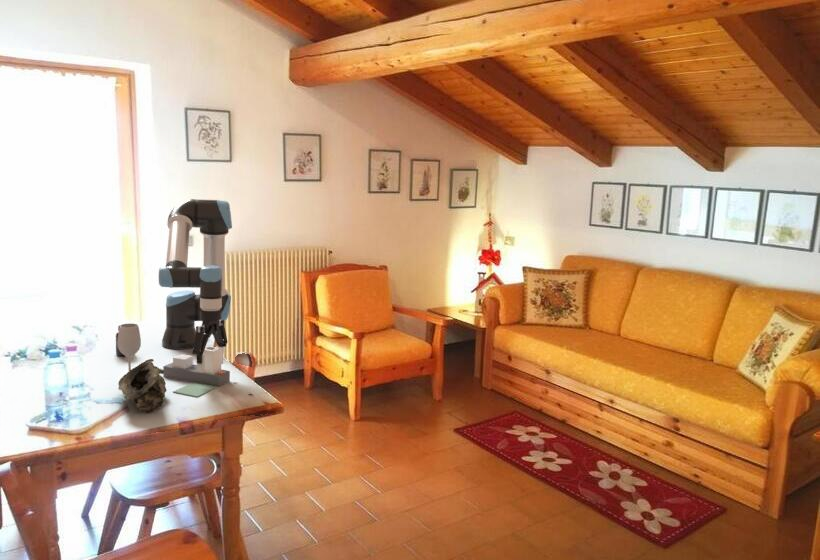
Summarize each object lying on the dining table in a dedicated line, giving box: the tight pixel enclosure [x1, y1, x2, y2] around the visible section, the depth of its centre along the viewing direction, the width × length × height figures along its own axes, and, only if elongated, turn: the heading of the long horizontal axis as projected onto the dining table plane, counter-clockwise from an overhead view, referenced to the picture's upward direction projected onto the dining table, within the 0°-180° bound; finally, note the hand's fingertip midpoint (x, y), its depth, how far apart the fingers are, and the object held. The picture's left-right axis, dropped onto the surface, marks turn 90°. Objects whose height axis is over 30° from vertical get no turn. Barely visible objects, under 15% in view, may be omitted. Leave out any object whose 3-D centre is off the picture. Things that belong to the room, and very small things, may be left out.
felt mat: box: [172, 382, 218, 398], centre depth 227 cm, size 11×10×1 cm
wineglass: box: [117, 322, 142, 372], centre depth 229 cm, size 8×8×21 cm
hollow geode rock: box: [117, 358, 167, 414], centre depth 211 cm, size 28×13×15 cm
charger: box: [200, 345, 222, 375], centre depth 235 cm, size 5×6×10 cm
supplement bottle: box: [115, 325, 127, 358], centre depth 261 cm, size 7×7×12 cm
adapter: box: [172, 353, 194, 370], centre depth 239 cm, size 5×5×5 cm
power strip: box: [159, 362, 231, 388], centre depth 239 cm, size 31×7×4 cm, turn 71°
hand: (210, 367), depth 236 cm, fingers open, 10 cm apart
